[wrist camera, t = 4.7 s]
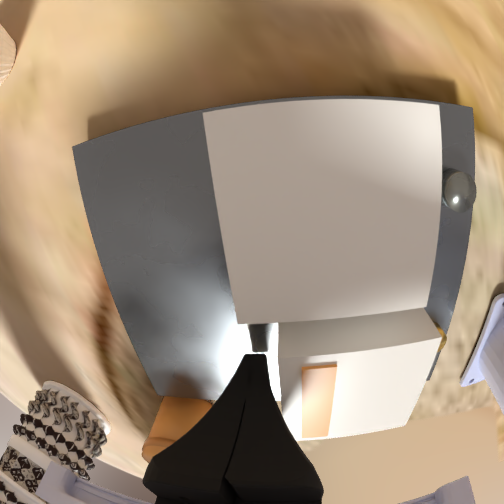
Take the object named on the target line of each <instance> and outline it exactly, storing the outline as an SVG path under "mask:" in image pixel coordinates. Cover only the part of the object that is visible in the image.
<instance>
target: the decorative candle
mask: <svg viewBox="0 0 504 504" xmlns="http://www.w3.org/2000/svg"><path fill="white" fill-rule="evenodd" d="M28 411H29V414H30V415H28V414H21V419H20V420H21V423H22V426H20V425H14V426H13V431H14V433H15V434H13V435H12V437H11V439H10V440H9V442H8V443H7V445H8V447H7V449H6V451H5V453H4V454H3V456H2V457H1V460H0V504H50V503H48V502H47V501H45V500H43V499H42V498H40V497H39V496H37V495H36V494H35V492H36V490H37V488H38V486H39V484H40V482H41V480H42V478H43V476H44V474H45V472H46V470H47V468H48V466H49V464H50V462H51V461H53V462H55V463H57V464H59V465H61V466H63V467H65V468H67V469H69V470H70V471H72V472H73V473H74V474H75V475H76V476H77V477H80V478H82V479H84V480H87V481H89V480H90V477H89V475H88V474H87V472H86V470H91V469H94V468H95V465H94V464H93V461H92V459H91V458H96V457H98V456H100V455H101V454H102V451H101V448H100V446H102V445H104V444H106V443H107V438H106V435H107V434H108V433H110V431H111V426H110V423H109V421H108V420H107V419H106V417H105V416H104V414H102V413H101V412H100V411H99V410H98V409H97V408H96V407H95V406H94V405H93V404H92V403H91V402H89V401H88V400H86V399H85V398H84V397H82V396H81V395H80V394H78V393H77V392H75V391H74V390H72V389H70V388H68V387H67V386H65V385H63V384H60V383H58V382H55V381H45V382H44V384H43V387H42V391H36V395H35V401H29V405H28Z"/></svg>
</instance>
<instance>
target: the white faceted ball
mask: <svg viewBox="0 0 504 504" xmlns="http://www.w3.org/2000/svg"><path fill="white" fill-rule="evenodd" d="M15 56H16V44H15V42H14V40H13V39H12V38H11V37H10V36H9V34H8V33H7V32H6V30H5V29H4V28H3V27H2V25H1V24H0V85H2V83H3V82H4V81H5V79H7V76H8V75H9V74H10V71H11V70H12V66H13V65H14V61H15Z"/></svg>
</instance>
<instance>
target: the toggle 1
mask: <svg viewBox="0 0 504 504" xmlns="http://www.w3.org/2000/svg"><path fill="white" fill-rule="evenodd" d="M203 119H204V126H205V133H206V140H207V147H208V154H209V160H210V167H211V173H212V180H213V186H214V193H215V199H216V205H217V211H218V217H219V223H220V229H221V235H222V241H223V247H224V252H225V258H226V264H227V269H228V275H229V281H230V286H231V291H232V297H233V302H234V307H235V313H236V318H237V323H238V324H263V323H282V322H297V321H311V320H323V319H334V318H344V317H354V316H363V315H372V314H380V313H388V312H395V311H402V310H409V309H416V308H422V307H426V306H427V302H428V297H429V292H430V287H431V282H432V276H433V270H434V264H435V257H436V250H437V242H438V233H439V223H440V211H441V193H442V139H441V122H440V110H439V105H435V104H427V103H418V102H407V101H394V100H374V99H321V100H301V101H287V102H275V103H265V104H257V105H249V106H241V107H234V108H228V109H221V110H215V111H210V112H204V113H203Z"/></svg>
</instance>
